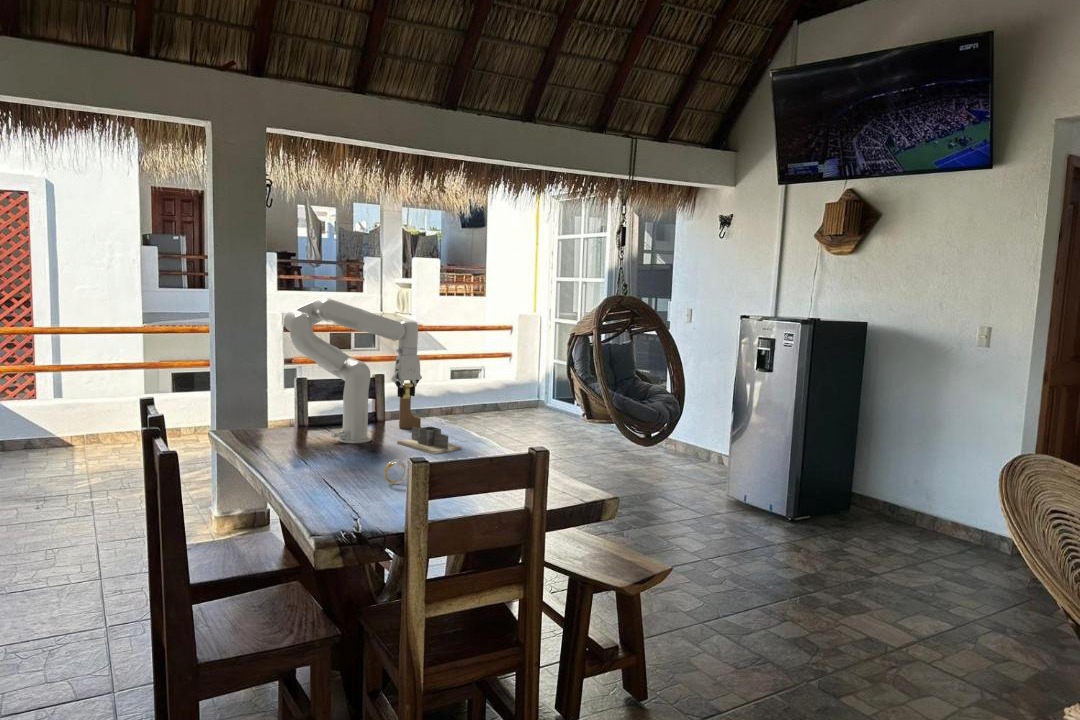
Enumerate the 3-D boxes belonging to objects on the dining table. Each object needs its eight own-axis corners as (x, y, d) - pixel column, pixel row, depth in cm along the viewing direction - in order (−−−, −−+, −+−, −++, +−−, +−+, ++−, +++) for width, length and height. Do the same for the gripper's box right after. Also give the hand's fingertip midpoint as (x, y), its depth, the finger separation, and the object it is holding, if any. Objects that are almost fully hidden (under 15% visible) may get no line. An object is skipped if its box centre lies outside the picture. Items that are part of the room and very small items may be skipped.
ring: (406, 482, 229) (406, 457, 229) (407, 485, 226) (407, 460, 226) (383, 482, 228) (384, 458, 227) (384, 485, 225) (384, 460, 224)
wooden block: (419, 426, 318) (421, 386, 317) (420, 428, 314) (421, 387, 312) (398, 426, 316) (400, 386, 314) (399, 428, 312) (400, 387, 310)
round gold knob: (404, 399, 291) (405, 384, 290) (397, 397, 294) (397, 383, 294) (415, 398, 295) (415, 384, 294) (407, 396, 298) (407, 382, 298)
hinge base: (433, 454, 269) (433, 435, 268) (397, 443, 283) (397, 425, 283) (461, 449, 279) (462, 431, 279) (425, 439, 294) (425, 422, 293)
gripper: (396, 353, 284) (394, 399, 286) (430, 352, 297) (428, 396, 298) (384, 351, 289) (383, 396, 291) (418, 350, 302) (417, 393, 303)
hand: (406, 395), depth 294 cm, fingers closed on round gold knob, 4 cm apart
